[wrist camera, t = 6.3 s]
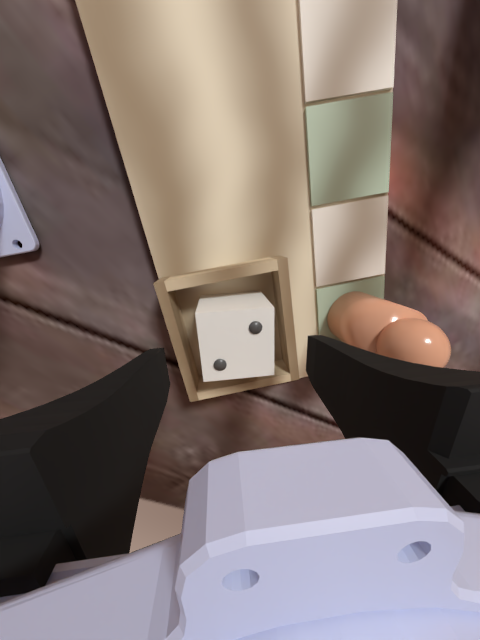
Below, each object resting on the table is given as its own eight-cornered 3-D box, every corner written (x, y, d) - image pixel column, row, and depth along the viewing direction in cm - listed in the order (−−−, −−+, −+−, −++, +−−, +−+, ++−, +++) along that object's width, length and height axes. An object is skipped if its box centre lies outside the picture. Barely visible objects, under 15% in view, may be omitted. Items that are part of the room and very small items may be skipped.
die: (206, 349, 16) (203, 382, 13) (200, 295, 15) (195, 314, 11) (261, 344, 17) (274, 375, 13) (260, 290, 15) (274, 307, 12)
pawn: (326, 342, 17) (394, 402, 11) (327, 294, 16) (405, 330, 9) (373, 335, 17) (466, 389, 11) (377, 287, 16) (485, 318, 10)
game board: (196, 391, 19) (192, 418, 16) (51, -103, 10) (-17, -242, 7) (372, 355, 19) (398, 375, 16) (387, -150, 10) (452, -299, 7)
